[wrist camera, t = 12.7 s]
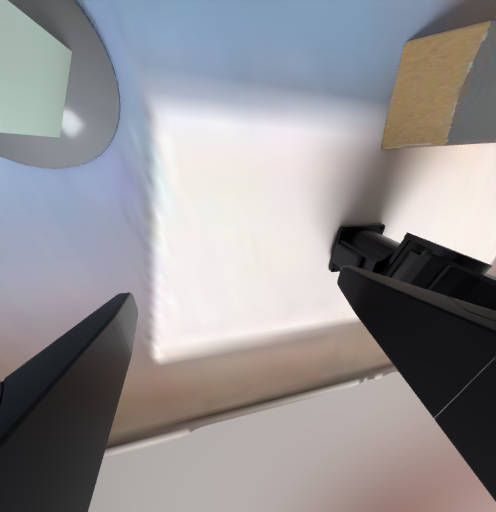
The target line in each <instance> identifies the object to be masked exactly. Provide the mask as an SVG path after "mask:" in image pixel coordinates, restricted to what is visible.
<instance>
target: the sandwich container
mask: <svg viewBox="0 0 496 512" xmlns="http://www.w3.org/2000/svg"><path fill="white" fill-rule="evenodd" d="M479 143H496V19H493V20H489V21H485V22H481V23H477V24H473V25H469V26H465V27H461V28H457V29H453V30H449V31H445V32H442V33H438V34H434V35H430V36H426V37H422V38H418V39H414V40H410V41H406V42H405V45H404V48H403V52H402V56H401V60H400V64H399V68H398V72H397V76H396V80H395V84H394V88H393V92H392V96H391V100H390V104H389V109H388V114H387V119H386V124H385V129H384V134H383V139H382V144H381V149H394V148H411V147H429V146H446V145H463V144H479Z"/></svg>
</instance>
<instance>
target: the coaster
mask: <svg viewBox="0 0 496 512" xmlns="http://www.w3.org/2000/svg"><path fill="white" fill-rule="evenodd" d="M8 1H9V2H11V3H12V4H13V5H14V6H16V7H17V8H18V9H19V10H21V11H22V12H23V13H24V14H26V15H27V16H28V17H29V18H31V19H32V20H33V21H34V22H36V23H37V24H38V25H39V26H41V27H42V28H43V29H44V30H46V31H47V32H48V33H49V34H51V35H52V36H53V37H54V38H56V39H57V40H58V41H59V42H61V43H62V44H63V45H64V46H66V47H67V48H68V49H69V50H71V51H72V56H71V63H70V70H69V77H68V84H67V91H66V98H65V105H64V112H63V119H62V126H61V133H60V138H59V137H47V136H35V135H23V134H11V133H0V156H1V157H4V158H6V159H9V160H12V161H14V162H17V163H21V164H25V165H28V166H34V167H39V168H51V169H57V168H69V167H74V166H79V165H82V164H85V163H88V162H90V161H91V160H93V159H95V158H97V157H98V156H99V155H100V154H102V153H103V152H104V151H105V150H106V148H107V147H108V146H109V145H110V143H111V141H112V140H113V138H114V136H115V133H116V131H117V128H118V123H119V118H120V94H119V89H118V83H117V79H116V75H115V72H114V68H113V66H112V63H111V61H110V58H109V55H108V53H107V51H106V49H105V47H104V45H103V43H102V41H101V39H100V37H99V36H98V34H97V32H96V31H95V29H94V27H93V26H92V24H91V23H90V21H89V20H88V18H87V17H86V16H85V14H84V13H83V12H82V10H81V9H80V7H79V6H78V5H77V4H76V2H75V1H74V0H8Z"/></svg>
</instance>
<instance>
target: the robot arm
mask: <svg viewBox="0 0 496 512" xmlns="http://www.w3.org/2000/svg"><path fill="white" fill-rule="evenodd" d="M384 229H385V225H384V224H381V223H379V224H364V225H349V226H342V227H341V228H340V229H339V232H338V236H337V240H336V244H335V247H334V251H333V255H332V259H331V263H330V266H329V270H330V271H331V272H338V271H340V274H339V277H338V282H337V283H338V286H339V288H340V289H341V291H342V293H343V294H344V296H345V297H346V299H347V301H348V302H349V304H350V306H351V307H352V309H353V310H354V312H355V313H356V315H357V316H358V318H359V319H360V320H361V322H362V323H363V324H364V326H365V327H366V328H367V330H368V331H369V332H370V334H371V335H372V336H373V338H374V339H375V340H376V342H377V343H378V344H379V346H380V347H381V348H382V350H383V351H384V352H385V354H386V355H387V356H388V358H389V359H390V360H391V362H392V363H393V364H394V366H395V367H396V368H397V370H398V371H399V372H400V374H401V375H402V376H403V378H404V379H405V380H406V382H407V383H408V384H409V386H410V387H411V388H412V390H413V391H414V392H415V394H416V395H417V397H418V398H419V399H420V400H421V402H422V403H423V404H424V406H425V407H426V409H427V410H428V411H429V412H430V414H431V415H432V417H433V418H435V421H436V422H437V424H438V425H439V426H440V427H441V429H442V430H443V432H444V433H445V434H446V436H447V437H448V438H449V440H450V441H451V442H452V444H453V445H454V446H455V448H456V449H457V450H458V452H459V453H460V454H461V456H462V457H463V458H464V460H465V461H466V462H467V464H468V465H469V466H470V467H471V469H472V470H473V472H474V473H475V475H476V476H477V477H478V479H479V480H480V481H481V482H482V484H483V485H484V487H485V488H486V489H487V491H488V492H489V493H490V495H491V496H492V497H493V499H494V500H495V501H496V277H493V276H491V275H489V274H486V272H487V271H488V270H489V269H490V268H491V267H492V265H489V264H487V263H484V262H482V261H479V260H477V259H474V258H472V257H469V256H467V255H464V254H462V253H459V252H457V251H454V250H451V249H449V248H446V247H444V246H441V245H439V244H436V243H433V242H431V241H428V240H426V239H423V238H420V237H418V236H415V235H412V234H410V233H406V235H405V236H404V239H403V241H402V242H401V244H400V243H398V242H396V241H394V240H392V239H390V238H387V237H385V236H383V235H382V234H383V231H384ZM343 230H344V231H343ZM137 317H138V309H137V306H136V303H135V300H134V297H133V294H132V293H130V292H129V293H120V294H118V295H116V296H115V297H113V298H112V299H111V300H109V301H108V302H107V303H105V304H104V305H103V306H101V307H100V308H99V309H97V310H96V311H95V312H93V313H92V314H91V315H89V316H88V317H87V318H85V319H84V320H83V321H81V322H80V323H79V324H77V325H76V326H75V327H73V328H72V329H70V330H69V331H68V332H66V333H65V334H64V335H62V336H61V337H60V338H58V339H57V340H56V341H54V342H53V343H52V344H50V345H49V346H48V347H46V348H45V349H44V350H42V351H41V352H40V353H38V354H37V355H35V356H34V357H33V358H31V359H30V360H29V361H27V362H26V363H25V364H23V365H22V366H21V367H19V368H18V369H17V370H15V371H14V372H13V373H11V374H10V375H9V376H7V377H6V378H5V379H4V381H1V382H0V512H88V509H89V506H90V502H91V499H92V495H93V492H94V488H95V484H96V481H97V477H98V473H99V470H100V466H101V463H102V459H103V456H104V452H105V449H106V445H107V441H108V438H109V434H110V431H111V427H112V423H113V420H114V416H115V413H116V409H117V406H118V402H119V398H120V395H121V391H122V388H123V384H124V381H125V377H126V373H127V370H128V366H129V363H130V359H131V355H132V350H133V343H134V337H135V330H136V324H137Z"/></svg>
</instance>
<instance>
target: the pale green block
mask: <svg viewBox="0 0 496 512" xmlns="http://www.w3.org/2000/svg"><path fill="white" fill-rule="evenodd" d="M71 56H72V51H71V50H69V49H68V48H67V47H66V46H64V45H63V44H62V43H61V42H59V41H58V40H57V39H56V38H54V37H53V36H52V35H51V34H49V33H48V32H47V31H46V30H44V29H43V28H42V27H41V26H39V25H38V24H37V23H36V22H34V21H33V20H32V19H31V18H29V17H28V16H27V15H26V14H24V13H23V12H22V11H21V10H19V9H18V8H17V7H16V6H14V5H13V4H12V3H11V2H9V1H8V0H0V133H11V134H23V135H35V136H47V137H59V138H60V133H61V126H62V119H63V112H64V105H65V98H66V91H67V84H68V77H69V70H70V63H71Z"/></svg>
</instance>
